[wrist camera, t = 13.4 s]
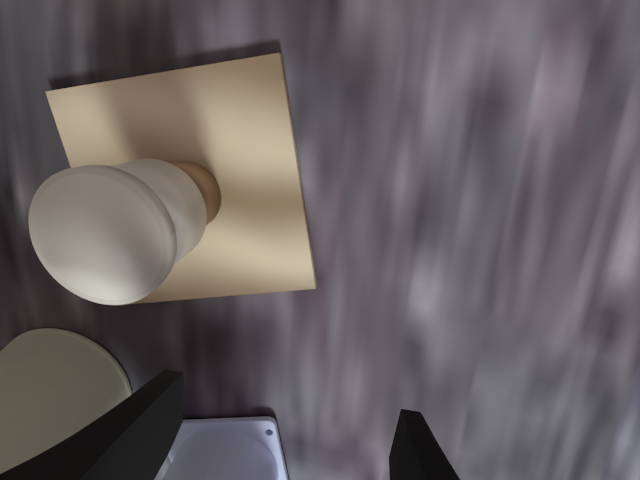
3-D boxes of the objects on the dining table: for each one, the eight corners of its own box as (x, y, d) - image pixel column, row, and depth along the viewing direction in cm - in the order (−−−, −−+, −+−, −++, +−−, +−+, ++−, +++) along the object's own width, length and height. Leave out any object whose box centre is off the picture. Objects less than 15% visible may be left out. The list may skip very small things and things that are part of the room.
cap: (117, 133, 16) (43, 139, 12) (227, 185, 16) (188, 208, 12) (90, 234, 18) (17, 268, 14) (190, 280, 18) (145, 326, 14)
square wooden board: (316, 283, 22) (308, 320, 18) (123, 300, 23) (78, 337, 19) (282, 54, 18) (262, 39, 14) (54, 92, 20) (-19, 87, 16)
